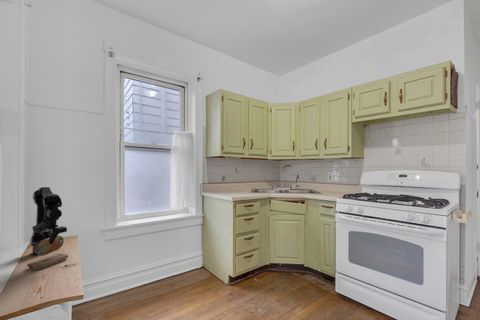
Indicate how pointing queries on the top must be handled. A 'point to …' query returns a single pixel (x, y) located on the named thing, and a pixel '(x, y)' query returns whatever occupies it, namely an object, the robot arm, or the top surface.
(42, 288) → the top surface
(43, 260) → the stand
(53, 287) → the top surface
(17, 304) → the top surface
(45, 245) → the tin
